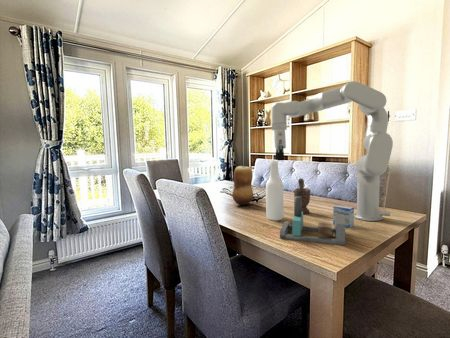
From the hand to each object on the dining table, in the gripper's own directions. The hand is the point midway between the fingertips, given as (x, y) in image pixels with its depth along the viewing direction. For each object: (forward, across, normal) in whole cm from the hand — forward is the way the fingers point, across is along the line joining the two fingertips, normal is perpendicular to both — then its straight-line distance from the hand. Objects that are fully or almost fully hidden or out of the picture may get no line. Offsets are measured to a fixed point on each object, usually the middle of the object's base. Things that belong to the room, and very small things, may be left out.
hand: (279, 159), depth 131 cm
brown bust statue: (+30, +3, -12) cm, 33 cm away
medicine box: (+30, -16, -27) cm, 44 cm away
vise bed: (+30, -30, -10) cm, 44 cm away
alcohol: (+30, -6, +4) cm, 31 cm away
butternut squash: (+30, +24, +21) cm, 44 cm away
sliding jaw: (+28, -29, -4) cm, 40 cm away
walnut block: (+30, -31, -14) cm, 46 cm away
